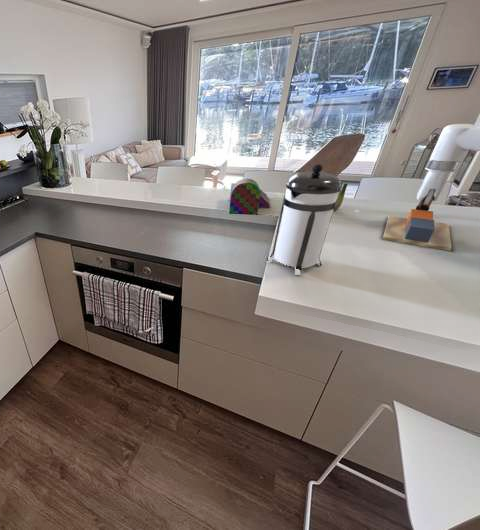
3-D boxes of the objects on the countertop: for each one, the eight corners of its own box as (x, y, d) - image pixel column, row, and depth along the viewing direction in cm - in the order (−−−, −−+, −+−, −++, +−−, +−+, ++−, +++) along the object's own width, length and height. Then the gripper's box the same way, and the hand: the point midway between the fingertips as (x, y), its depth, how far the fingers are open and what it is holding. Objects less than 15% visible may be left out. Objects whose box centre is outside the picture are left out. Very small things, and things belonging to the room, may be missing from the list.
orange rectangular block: (427, 223, 102) (433, 211, 100) (427, 232, 97) (433, 220, 94) (406, 220, 105) (411, 208, 103) (405, 229, 100) (410, 217, 98)
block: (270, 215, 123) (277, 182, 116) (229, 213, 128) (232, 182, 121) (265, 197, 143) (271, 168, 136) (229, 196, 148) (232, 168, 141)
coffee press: (330, 280, 80) (367, 171, 65) (266, 272, 86) (287, 170, 71) (320, 252, 94) (349, 156, 78) (266, 247, 100) (283, 156, 84)
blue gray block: (427, 232, 96) (434, 220, 94) (427, 242, 91) (434, 229, 89) (405, 229, 100) (411, 217, 98) (404, 238, 94) (410, 226, 92)
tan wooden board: (447, 226, 101) (448, 223, 101) (450, 250, 88) (451, 247, 87) (388, 218, 111) (389, 215, 110) (382, 239, 97) (383, 236, 97)
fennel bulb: (341, 210, 121) (350, 182, 115) (331, 212, 120) (339, 183, 114) (329, 206, 126) (337, 178, 120) (320, 208, 125) (327, 180, 119)
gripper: (427, 160, 102) (405, 209, 111) (426, 169, 93) (403, 221, 102) (458, 161, 97) (432, 212, 107) (460, 171, 88) (432, 226, 98)
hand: (418, 216), depth 104 cm, fingers closed
